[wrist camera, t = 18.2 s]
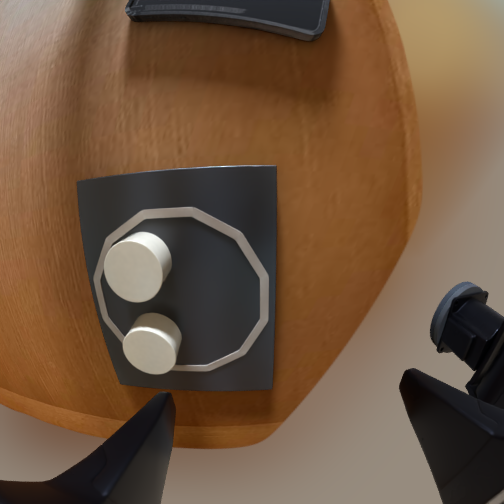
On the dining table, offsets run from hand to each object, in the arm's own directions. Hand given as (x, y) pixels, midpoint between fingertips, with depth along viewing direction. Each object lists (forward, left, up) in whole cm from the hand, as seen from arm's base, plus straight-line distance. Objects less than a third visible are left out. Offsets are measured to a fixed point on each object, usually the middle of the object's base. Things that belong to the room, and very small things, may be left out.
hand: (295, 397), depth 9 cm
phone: (+2, -23, -11) cm, 26 cm away
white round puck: (+8, -2, -10) cm, 13 cm away
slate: (+6, +1, -11) cm, 13 cm away
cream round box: (+8, +4, -10) cm, 14 cm away
